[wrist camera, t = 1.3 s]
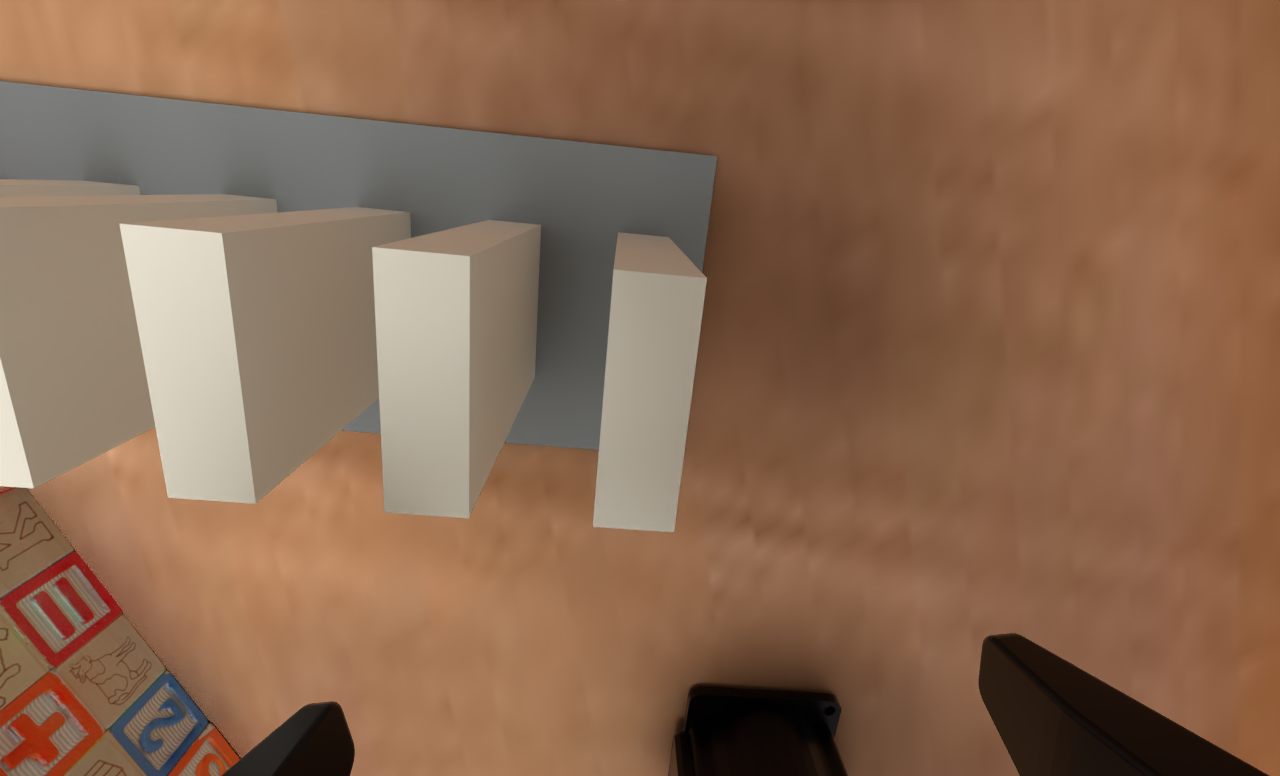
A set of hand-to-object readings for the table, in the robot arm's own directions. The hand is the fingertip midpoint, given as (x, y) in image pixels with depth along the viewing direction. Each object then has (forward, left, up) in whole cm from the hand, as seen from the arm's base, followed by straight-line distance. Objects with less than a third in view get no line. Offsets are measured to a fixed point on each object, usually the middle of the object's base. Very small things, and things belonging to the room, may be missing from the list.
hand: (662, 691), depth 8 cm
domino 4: (+12, -3, -13) cm, 18 cm away
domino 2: (+4, -3, -13) cm, 14 cm away
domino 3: (+8, -3, -13) cm, 15 cm away
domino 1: (0, -3, -13) cm, 13 cm away
